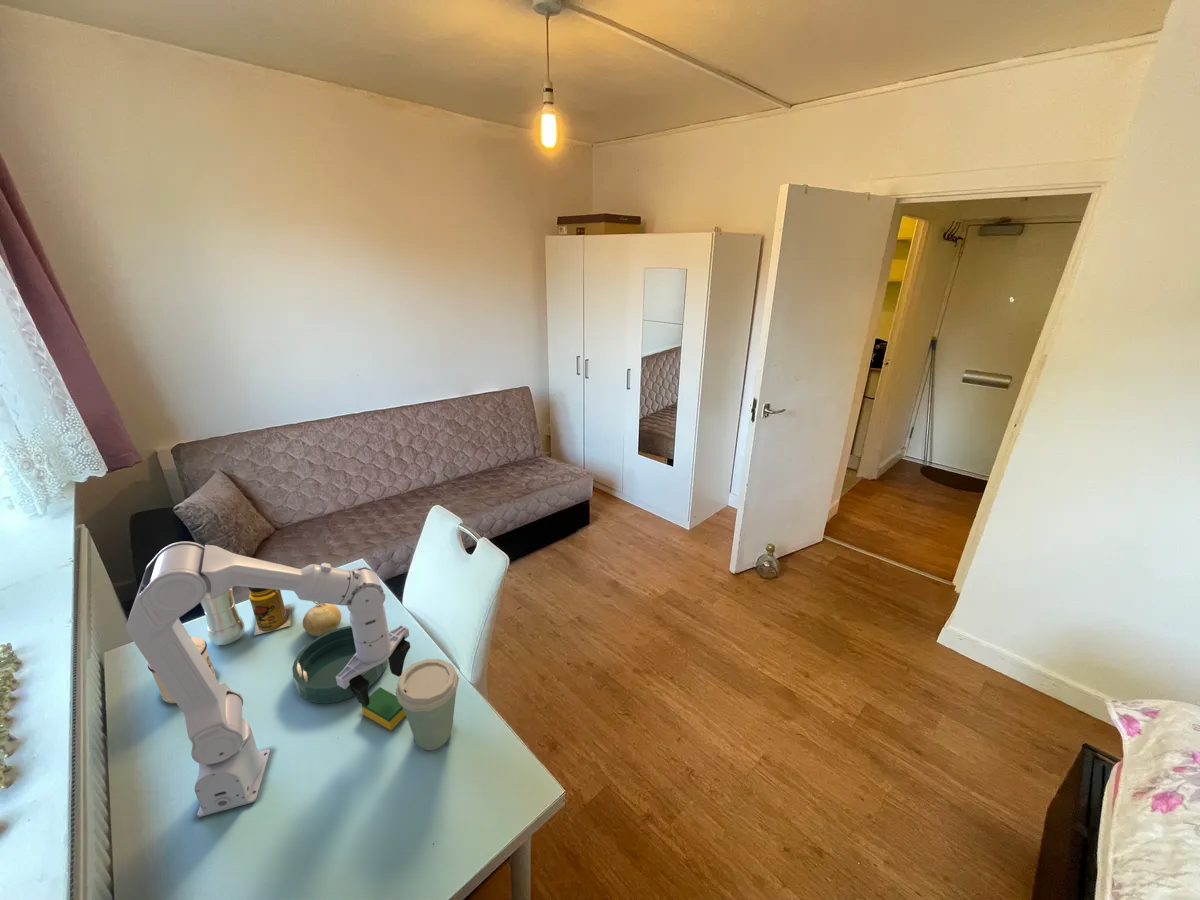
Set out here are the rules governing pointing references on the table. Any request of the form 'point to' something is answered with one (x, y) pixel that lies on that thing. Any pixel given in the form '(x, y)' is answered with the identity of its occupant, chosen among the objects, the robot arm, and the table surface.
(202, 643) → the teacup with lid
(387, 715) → the sponge
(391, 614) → the table surface
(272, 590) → the condiment
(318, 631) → the onion
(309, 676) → the bowl
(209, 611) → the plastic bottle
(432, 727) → the disposable coffee cup
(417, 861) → the table surface
